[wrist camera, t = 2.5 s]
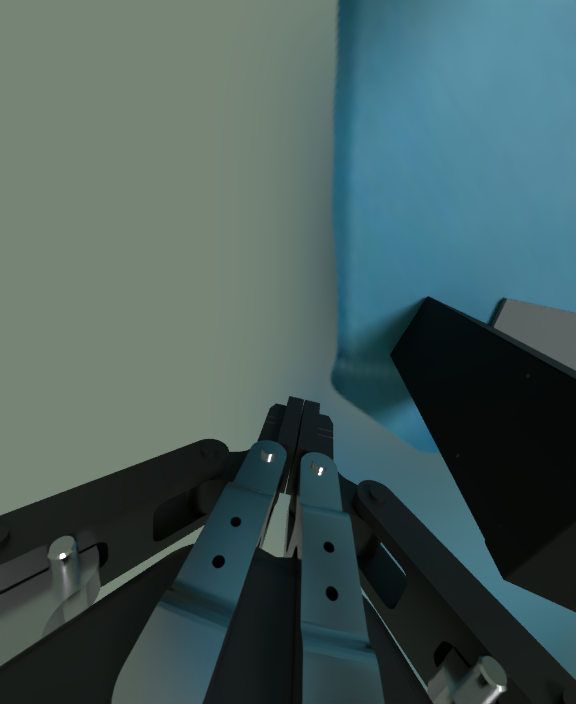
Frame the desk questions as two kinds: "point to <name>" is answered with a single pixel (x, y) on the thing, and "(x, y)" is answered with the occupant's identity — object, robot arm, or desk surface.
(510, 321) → the rubber mat
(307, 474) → the robot arm
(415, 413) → the desk surface
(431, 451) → the desk surface
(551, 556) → the black rectangular bar
